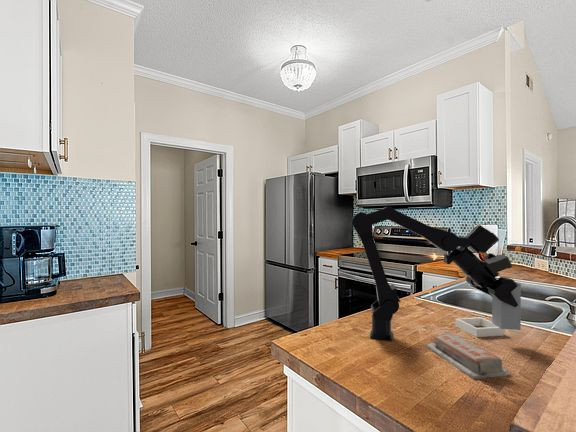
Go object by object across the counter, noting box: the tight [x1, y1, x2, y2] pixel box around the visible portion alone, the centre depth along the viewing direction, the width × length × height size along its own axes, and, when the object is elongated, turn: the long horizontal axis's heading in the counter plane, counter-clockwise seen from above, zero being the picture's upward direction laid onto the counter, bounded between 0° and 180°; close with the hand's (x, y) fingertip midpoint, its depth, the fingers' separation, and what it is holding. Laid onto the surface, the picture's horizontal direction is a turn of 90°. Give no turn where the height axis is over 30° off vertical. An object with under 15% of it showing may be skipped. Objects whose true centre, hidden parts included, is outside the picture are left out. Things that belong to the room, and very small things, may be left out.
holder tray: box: [455, 316, 506, 338], centre depth 99 cm, size 10×10×2 cm
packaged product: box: [425, 331, 510, 380], centre depth 80 cm, size 18×5×10 cm
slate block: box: [491, 281, 522, 331], centre depth 89 cm, size 5×5×13 cm
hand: (511, 303), depth 88 cm, fingers closed on slate block, 5 cm apart
